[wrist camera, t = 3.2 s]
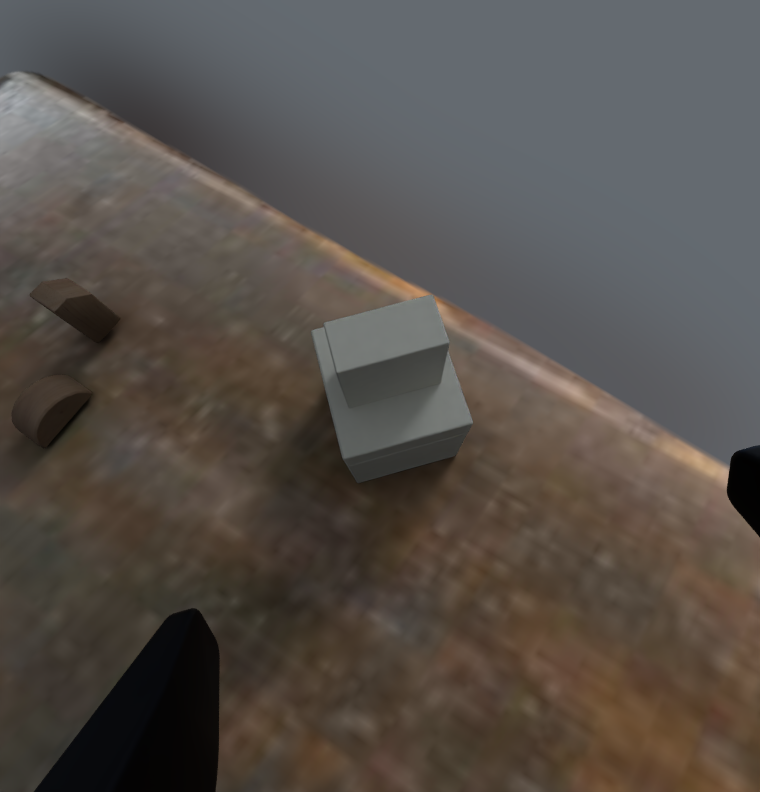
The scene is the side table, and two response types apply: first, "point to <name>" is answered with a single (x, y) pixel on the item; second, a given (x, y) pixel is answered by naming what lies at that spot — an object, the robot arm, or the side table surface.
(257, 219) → the side table surface
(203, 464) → the side table surface
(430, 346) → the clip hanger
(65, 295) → the wooden blocks
